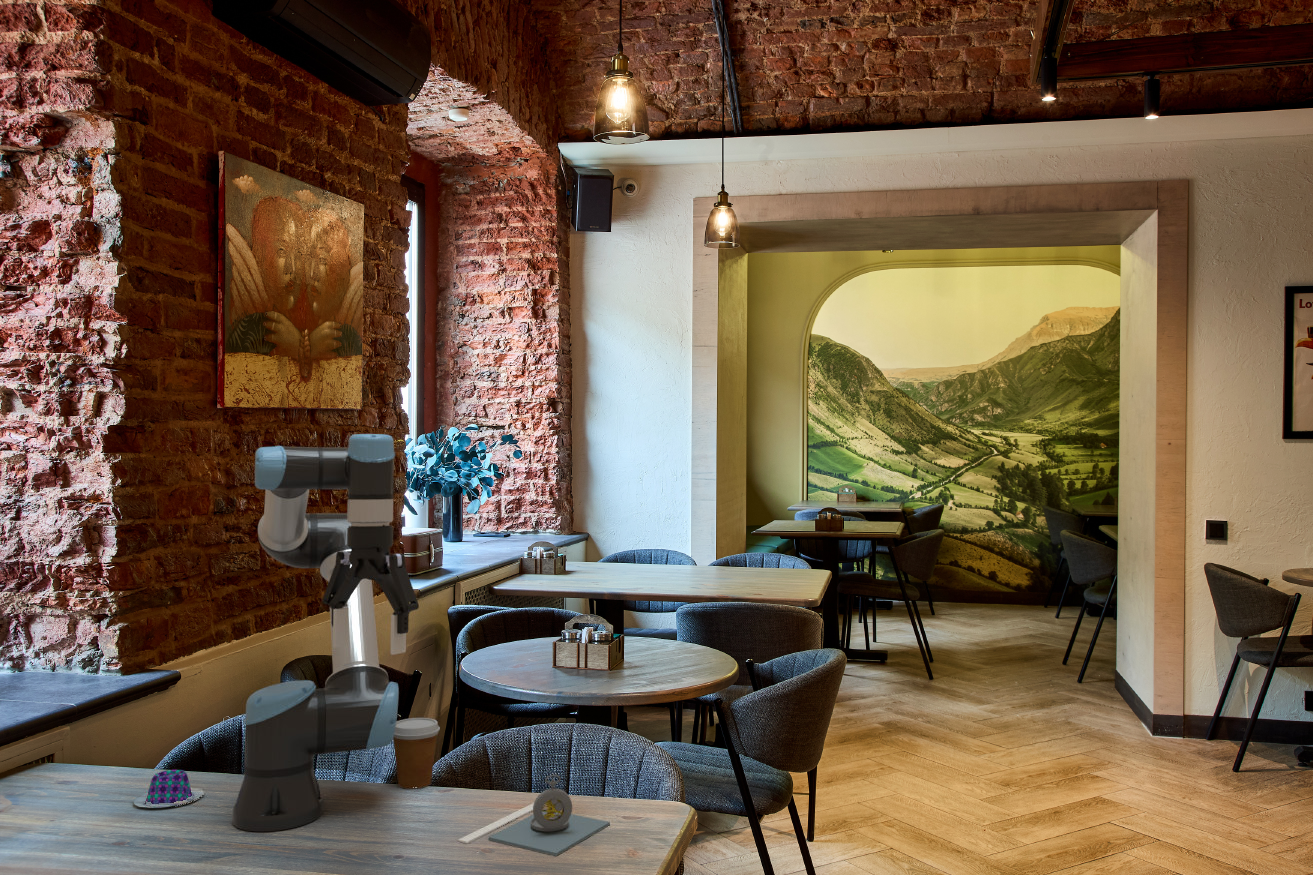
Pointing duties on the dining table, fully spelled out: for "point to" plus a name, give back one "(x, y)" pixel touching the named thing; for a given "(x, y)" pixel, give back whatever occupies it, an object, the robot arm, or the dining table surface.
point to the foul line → (495, 825)
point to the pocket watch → (557, 803)
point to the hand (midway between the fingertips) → (368, 649)
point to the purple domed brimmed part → (169, 787)
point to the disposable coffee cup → (415, 751)
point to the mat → (549, 834)
